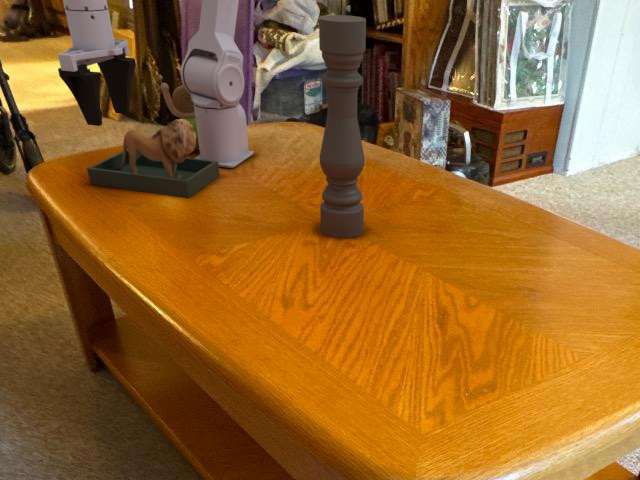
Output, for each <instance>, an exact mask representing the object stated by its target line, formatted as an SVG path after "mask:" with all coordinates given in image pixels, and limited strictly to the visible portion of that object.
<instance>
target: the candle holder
mask: <svg viewBox="0 0 640 480" xmlns="http://www.w3.org/2000/svg"><path fill="white" fill-rule="evenodd" d="M366 37H367V19H366V18H365V17H362V16H355V15H347V14H346V15H344V14H330V15H329V14H328V15H321V16H319V17H318V43H319V45H318V48H319V51H321V58H322V60H323V62H324V65H325V67H326V72H324V73H323V74H322V76H321V82H322V84H323V85H324V86H325V89H326V92H327V93H326V97H327V101H326V102H327V104H326V105H327V106H326V107H327V109H326V110H327V115H326V121H325V126H324V132H323V137H322V142H321V146H320V152H319V164H320V168H321V171H322V173H323V175H325V176H326V177H325V181H326V183H327V184H326V186H325V188H324V190H323V191H322V193H321V200H322V202H321V203H320V204H319V205H320V207H319V209H320V232H321V233H322V234H323V235H325V236H327V237H331V238H338V239H349V238H355V237H358V236H360V235H362V234H363V233H364V224H365V223H364V222H365V221H364V220H365V219H364V218H365V207H364V204H363V203H362V202H361V201H362V200H363V194H362V192H361V191H360V188H359V186H358V185H357V183H358V182H359V178H358V177H360V175H361V174H362V172H363V171H364V168H365V164H366V163H365V162H366V157H365V152H364V147H363V142H362V137H361V132H360V131H361V130H360V126H359V120H358V90H360V86H362V85H363V83H364V78H363V76H362V75H361V74H360V73H359V71H358V70H359V68H360V67H361V66H360V65H361V63H362V62H363V59H364V53H365V52H366V42H367V41H366V40H367V39H366Z"/></svg>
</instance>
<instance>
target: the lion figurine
mask: <svg viewBox="0 0 640 480" xmlns="http://www.w3.org/2000/svg"><path fill="white" fill-rule="evenodd" d="M195 139H196V133H195V132H194V131H193V129H192V125H191V124H189V122H188V121H187V120H185V119H181V118H178V119H174V120H173V121H171V122H170V123H168V124H167V125H166V126H164V127H161V128H159V129H158V130H157V131H156V133H155V134H153V135H150V134H146V133H144V132H142V131H140V130H138V129H131V130H128V131H127V132H126V133H125V135H124V137H123V144H122V151H123V158H122V162H121V164H120V165H119V166H117V167H116V168H115V169H114V170H115V171H120V170H121V169H122V168H123V166H124V163H125V160H126V152H127V150H128V153H129V168H130V170H131V171H132V172H133V173H136V174H138V172H137V171H138V168H137V167H136V160H137V159H138V158H139V157H140V156H141V155H142V154H143V155H144V156H145V157H146V158H148V159H149V160H152V161H162V163H163V165H164V168H165V172H166V176H167V178H174V179H181V175H179V174H177V173H176V168H177V163H182V162H183V161H184V160H185V158H186V157H187V156H188V155H190V154H192V153H193V152H194V151H193V150H194V148H195V144H196V140H195Z"/></svg>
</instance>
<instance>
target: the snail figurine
mask: <svg viewBox="0 0 640 480" xmlns="http://www.w3.org/2000/svg"><path fill="white" fill-rule="evenodd" d="M158 79H159V81H160V86H159V87H160V90H161V92H162V94H163V98H164V102H165V104H166V106H167V108H168V109H169V111H170V112H171V114H172V115H173V116H174V117H177V118H178V119H185V120H187V121H188V122H189V124H191V125H192V129H193V131H194V132H195V133H196V139H195V140H196V144H195V148H194V150H193V151H192V152H194V151H197V150H199V143H198V135H197V127H196V119H195V111H194V103H193V101H191V94H190V93H189V92H188V91H187V90H186V89H185V87H184V86H183V84H182V85H178V86H177V87H176V88H175V89H174V91H173V92H172V96H171V93H170V86H169V85H168V83H166V82H162V80H163V79H164V78H163V76H162V75H161V74H159V75H158Z"/></svg>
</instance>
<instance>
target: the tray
mask: <svg viewBox="0 0 640 480" xmlns="http://www.w3.org/2000/svg"><path fill="white" fill-rule="evenodd" d="M122 158H123V150H121V151H119V152H117V153H115V154H113V155H111V156H109V157H107V158H105V159H103V160H101V161H99V162H97V163H95V164H93V165H91V166H89V167H87V168H86V170H87V175H88V178H89V183H90V185H93V186H100V187H102V186H103V187H109V188H117V189H123V190H129V191H138V192H145V193H152V194H160V195H168V196H174V197H181V198H190V197H192V196H193V195H195V194H197V193H198V192H199V191H200V190H203V188H205V187H207V186H208V185H209V184H211V183H213V182H214V181H216V180H217V179H218V178H220V169H219V166H218V161H211V160H203V159H195V157H187V156H186V158H185V160H184V161H183V162H182V163H177V168H176V173H177V174H179V175H181V179H174V178H167V176H166V172H165V168H164V165H163V163H162V161H152V160H149V159H148V158H146V157H145V156H144V155H143V154H142V155H141V156H140V157H139V158H138V159H137V160H136V167H137V168H138V171H137V172H138V174H136V173H133V172H132V171H131V170H130V168H129V153H128V150H127V152H126V160H125V163H124V166H123V168H122V169H121V170H120V171H115V170H114V169H115V168H116V167H117V166H119V165H120V164H121V162H122Z"/></svg>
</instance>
